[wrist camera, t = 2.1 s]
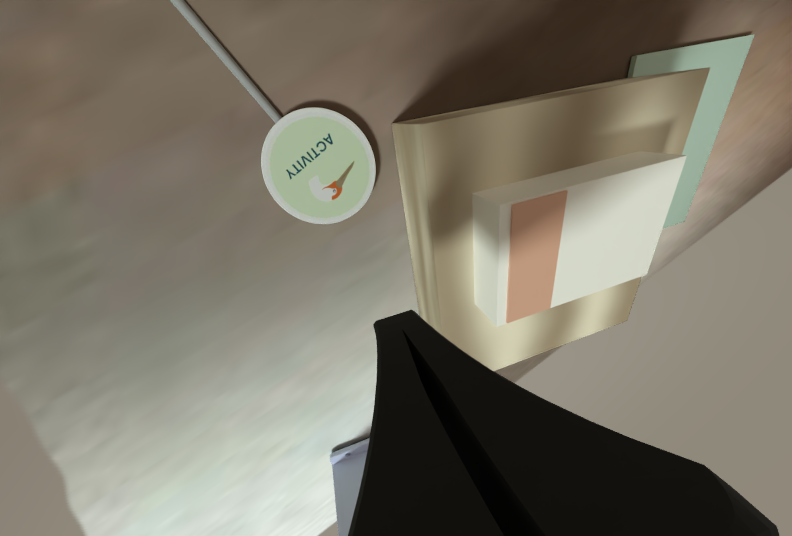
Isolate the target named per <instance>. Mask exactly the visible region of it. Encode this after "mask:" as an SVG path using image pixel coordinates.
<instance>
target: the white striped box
mask: <svg viewBox="0 0 792 536" xmlns="http://www.w3.org/2000/svg"><path fill="white" fill-rule="evenodd" d="M686 157H687V155H677V154H666V153H655V152H644V151H638V152H634V153H630V154H626V155H622V156H618V157H614V158H610V159H606V160H602V161H598V162H594V163H590V164H586V165H582V166H578V167H574V168H570V169H566V170H562V171H558V172H554V173H550V174H546V175H543V176H539V177H535V178H531V179H527V180H523V181H519V182H515V183H511V184H507V185H503V186H499V187H495V188H491V189H487V190H483V191H479V192H475V193H472V206H473V252H474V299H475V305H476V306H477V307H478V308H479V309H480V310H481V311H482V312H483V313H484V314H485V315H486V316H487V317H488V318H489V320H490V321H491V322H492V323H493V324H494V325H495V326H496V327H498V326H501V325H504V324H506V323H510V322H513V321H516V320H518V319H521V318H524V317H527V316H530V315H533V314H536V313H538V312H541V311H544V310H547V309H550V308H552V307H555V306H558V305H561V304H564V303H567V302H570V301H572V300H575V299H578V298H581V297H584V296H587V295H590V294H592V293H595V292H598V291H601V290H604V289H607V288H610V287H613V286H615V285H618V284H621V283H624V282H627V281H630V280H633V279H635V278H638V277H641V276H644V275H647V273H648V270H649V267H650V264H651V261H652V258H653V255H654V252H655V249H656V246H657V243H658V240H659V237H660V234H661V231H662V228H663V225H664V222H665V219H666V216H667V214H668V211H669V208H670V205H671V202H672V199H673V196H674V193H675V190H676V187H677V184H678V181H679V178H680V175H681V172H682V169H683V166H684V163H685V160H686Z"/></svg>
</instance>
